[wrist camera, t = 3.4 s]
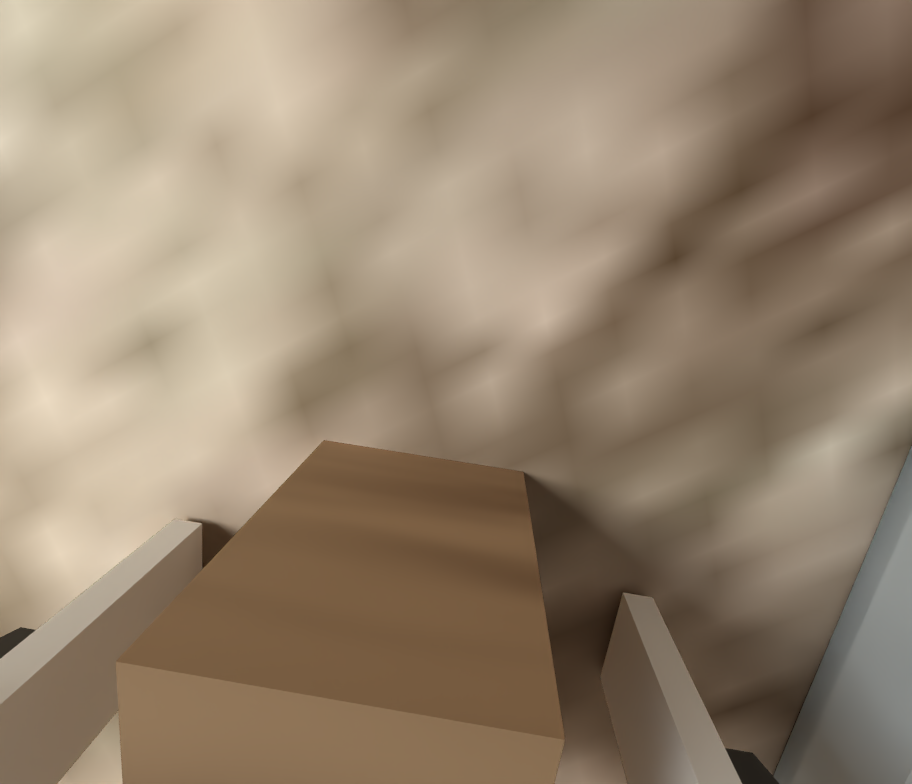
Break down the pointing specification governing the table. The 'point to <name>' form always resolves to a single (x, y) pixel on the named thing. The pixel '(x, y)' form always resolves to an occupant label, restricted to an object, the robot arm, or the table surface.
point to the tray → (864, 670)
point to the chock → (355, 638)
